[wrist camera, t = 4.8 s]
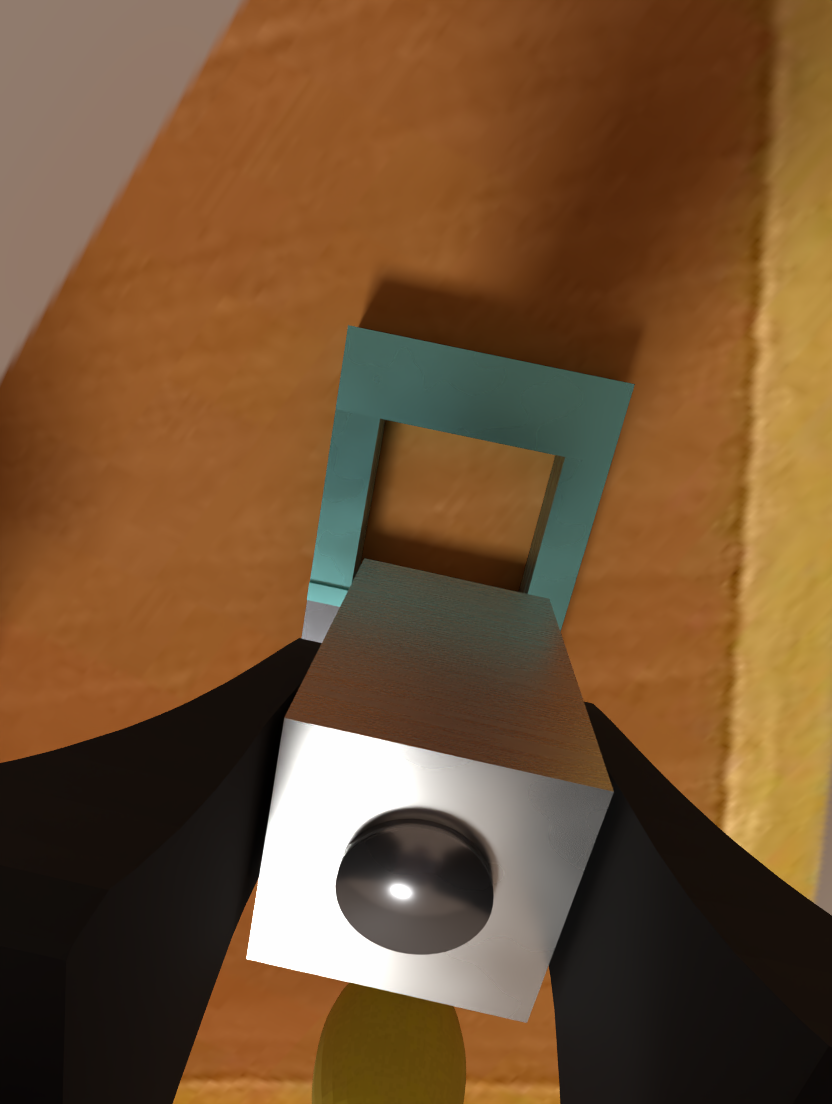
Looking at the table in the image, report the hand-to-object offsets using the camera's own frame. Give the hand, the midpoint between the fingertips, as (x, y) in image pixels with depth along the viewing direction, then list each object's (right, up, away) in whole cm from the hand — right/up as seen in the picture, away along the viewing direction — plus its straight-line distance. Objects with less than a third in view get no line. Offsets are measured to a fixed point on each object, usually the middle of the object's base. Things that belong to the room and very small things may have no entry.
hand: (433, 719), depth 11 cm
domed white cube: (0, +1, +3) cm, 3 cm away
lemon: (-1, -15, +16) cm, 21 cm away
